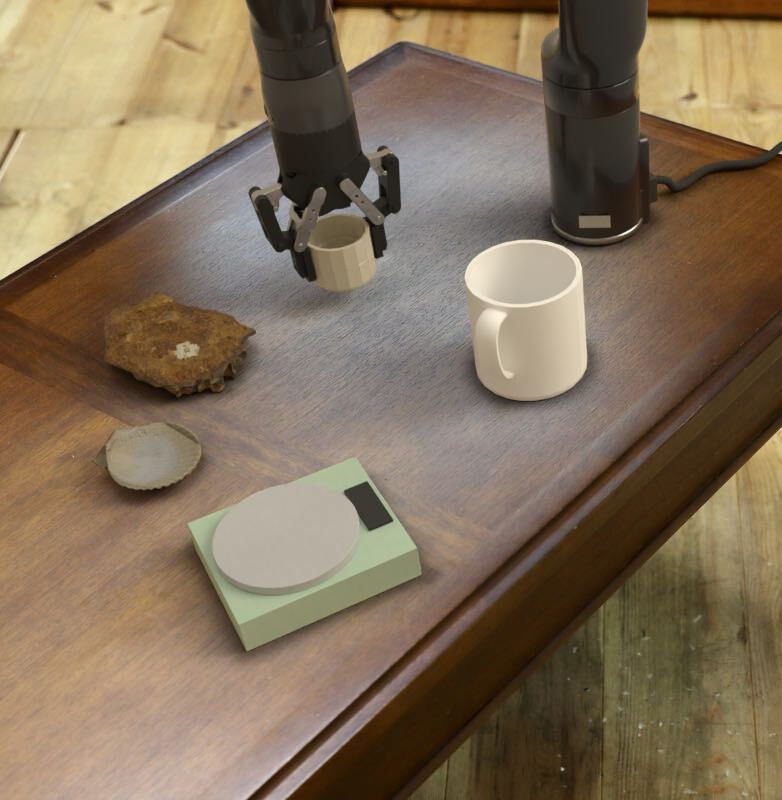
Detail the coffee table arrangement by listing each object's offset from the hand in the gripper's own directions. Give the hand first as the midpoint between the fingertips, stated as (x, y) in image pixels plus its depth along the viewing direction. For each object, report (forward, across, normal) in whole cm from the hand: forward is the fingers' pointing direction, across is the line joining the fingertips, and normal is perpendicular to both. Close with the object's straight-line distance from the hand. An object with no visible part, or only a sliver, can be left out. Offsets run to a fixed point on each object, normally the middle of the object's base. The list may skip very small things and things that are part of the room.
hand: (343, 265), depth 131 cm
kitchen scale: (+3, -16, -31) cm, 35 cm away
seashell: (+3, -23, -14) cm, 28 cm away
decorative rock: (+3, -18, 0) cm, 18 cm away
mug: (+4, +9, -20) cm, 22 cm away
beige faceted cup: (+1, 0, 0) cm, 1 cm away
